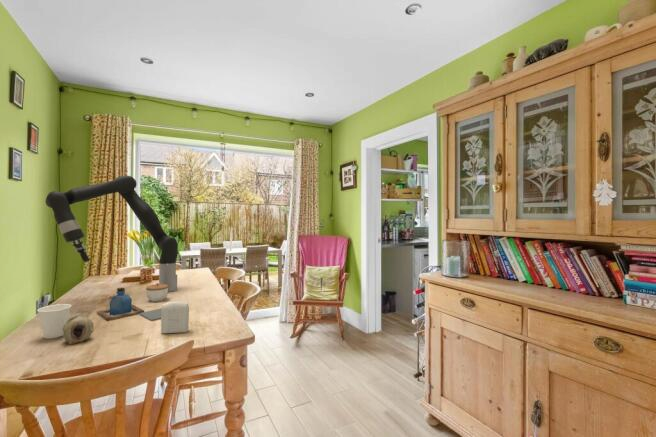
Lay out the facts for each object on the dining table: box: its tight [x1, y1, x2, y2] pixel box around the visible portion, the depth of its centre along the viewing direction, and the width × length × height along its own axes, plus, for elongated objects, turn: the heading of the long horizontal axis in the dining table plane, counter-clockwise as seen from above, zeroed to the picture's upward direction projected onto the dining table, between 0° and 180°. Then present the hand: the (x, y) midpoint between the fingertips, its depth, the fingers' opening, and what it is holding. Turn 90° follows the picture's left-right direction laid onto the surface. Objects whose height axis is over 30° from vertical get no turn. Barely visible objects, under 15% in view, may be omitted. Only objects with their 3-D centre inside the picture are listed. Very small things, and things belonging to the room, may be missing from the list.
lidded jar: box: [145, 282, 169, 303], centre depth 171 cm, size 11×11×9 cm
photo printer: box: [160, 300, 190, 334], centre depth 126 cm, size 10×4×12 cm, turn 103°
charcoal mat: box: [138, 307, 162, 322], centre depth 148 cm, size 14×14×1 cm
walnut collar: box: [96, 304, 145, 322], centre depth 148 cm, size 15×15×1 cm
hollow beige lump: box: [62, 314, 95, 345], centre depth 116 cm, size 9×8×10 cm
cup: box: [36, 303, 72, 340], centre depth 120 cm, size 10×10×11 cm
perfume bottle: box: [108, 287, 133, 316], centre depth 148 cm, size 6×6×12 cm
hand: (86, 261), depth 153 cm, fingers open, 8 cm apart
